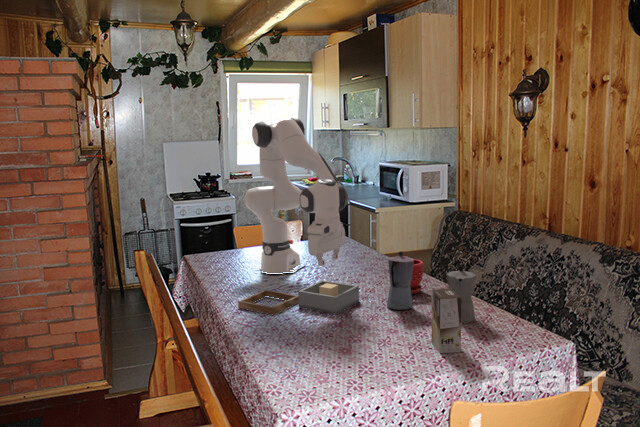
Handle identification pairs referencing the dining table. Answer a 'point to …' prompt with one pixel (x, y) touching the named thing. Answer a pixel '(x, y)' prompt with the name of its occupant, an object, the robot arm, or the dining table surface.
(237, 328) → the dining table surface
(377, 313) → the dining table surface
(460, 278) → the coffeepot
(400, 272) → the moka pot
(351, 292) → the bin
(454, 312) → the coffee box
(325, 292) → the tan block
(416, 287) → the plant pot
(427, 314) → the dining table surface
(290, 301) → the frame
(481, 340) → the dining table surface
